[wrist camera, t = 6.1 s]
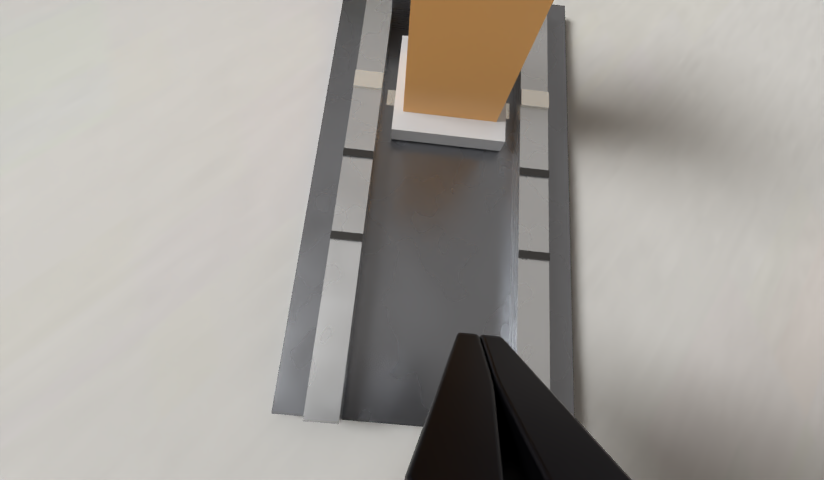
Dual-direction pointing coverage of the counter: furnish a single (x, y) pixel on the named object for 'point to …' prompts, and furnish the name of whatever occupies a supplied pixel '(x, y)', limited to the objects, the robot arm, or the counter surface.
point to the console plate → (426, 237)
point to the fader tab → (462, 69)
